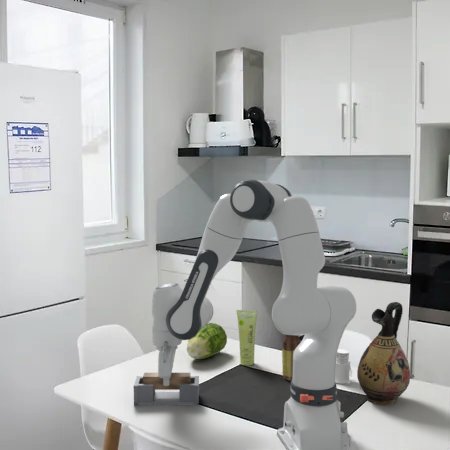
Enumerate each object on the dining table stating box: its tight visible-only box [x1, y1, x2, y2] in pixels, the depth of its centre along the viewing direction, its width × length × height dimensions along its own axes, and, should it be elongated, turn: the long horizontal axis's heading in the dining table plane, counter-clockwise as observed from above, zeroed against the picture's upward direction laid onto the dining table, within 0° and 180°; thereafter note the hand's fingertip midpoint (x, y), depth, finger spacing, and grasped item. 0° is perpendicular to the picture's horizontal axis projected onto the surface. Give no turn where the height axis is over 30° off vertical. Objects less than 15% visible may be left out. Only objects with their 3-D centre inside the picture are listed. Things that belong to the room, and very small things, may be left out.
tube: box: [236, 309, 258, 366], centre depth 217 cm, size 6×5×20 cm
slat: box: [142, 372, 191, 391], centre depth 184 cm, size 14×4×4 cm, turn 91°
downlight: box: [335, 348, 353, 385], centre depth 202 cm, size 8×7×10 cm
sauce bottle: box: [281, 334, 301, 382], centre depth 203 cm, size 6×6×20 cm
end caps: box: [133, 375, 200, 406], centre depth 184 cm, size 19×8×6 cm, turn 91°
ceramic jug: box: [356, 301, 411, 406], centre depth 185 cm, size 17×15×30 cm
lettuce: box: [186, 322, 228, 360], centre depth 224 cm, size 12×21×11 cm, turn 157°
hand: (167, 382), depth 184 cm, fingers closed on slat, 3 cm apart
